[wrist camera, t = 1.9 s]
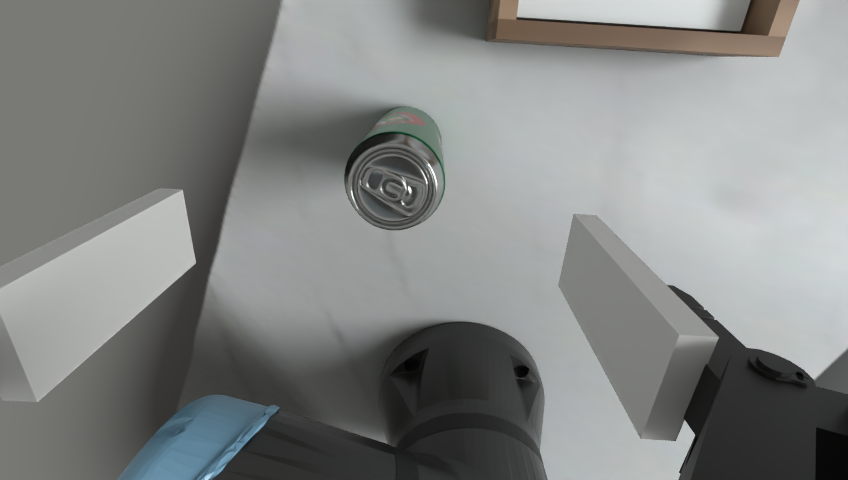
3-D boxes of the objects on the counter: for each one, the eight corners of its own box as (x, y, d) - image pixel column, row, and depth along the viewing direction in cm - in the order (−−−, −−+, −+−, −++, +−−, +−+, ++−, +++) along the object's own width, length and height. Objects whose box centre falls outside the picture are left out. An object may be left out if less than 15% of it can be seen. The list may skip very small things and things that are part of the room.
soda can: (423, 185, 32) (418, 253, 21) (362, 157, 32) (324, 212, 21) (453, 125, 30) (464, 164, 19) (389, 93, 30) (363, 116, 19)
